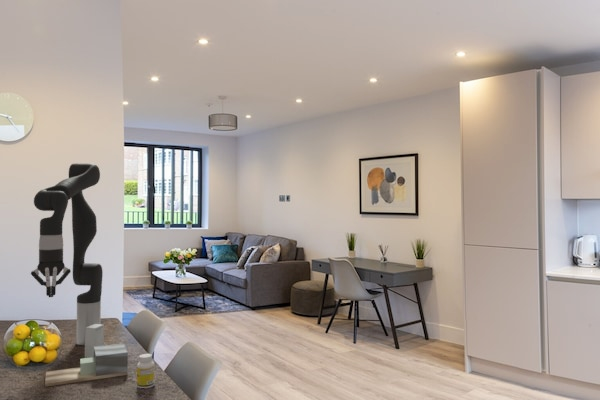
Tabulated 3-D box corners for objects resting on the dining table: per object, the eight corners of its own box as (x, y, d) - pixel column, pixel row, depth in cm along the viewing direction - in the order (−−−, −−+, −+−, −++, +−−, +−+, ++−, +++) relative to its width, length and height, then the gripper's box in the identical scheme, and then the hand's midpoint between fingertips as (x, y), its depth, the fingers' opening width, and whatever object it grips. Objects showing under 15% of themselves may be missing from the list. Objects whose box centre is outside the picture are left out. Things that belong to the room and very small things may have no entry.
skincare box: (94, 360, 179) (94, 328, 179) (84, 359, 179) (84, 327, 180) (104, 355, 184) (104, 324, 185) (94, 354, 185) (94, 323, 185)
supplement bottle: (139, 382, 156) (139, 352, 156) (156, 382, 157) (156, 352, 157) (134, 389, 151) (135, 358, 151) (152, 388, 151) (152, 357, 151)
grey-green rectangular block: (80, 370, 165) (80, 358, 165) (121, 364, 171) (121, 353, 171) (80, 375, 160) (80, 363, 160) (123, 369, 166) (123, 358, 166)
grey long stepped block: (45, 374, 163) (46, 352, 163) (123, 364, 174) (123, 343, 174) (44, 386, 152) (45, 362, 152) (127, 374, 164) (127, 352, 164)
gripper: (29, 249, 161) (28, 300, 162) (72, 247, 167) (72, 297, 168) (30, 247, 168) (30, 296, 168) (71, 245, 174) (71, 293, 174)
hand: (51, 296), depth 168 cm, fingers closed
